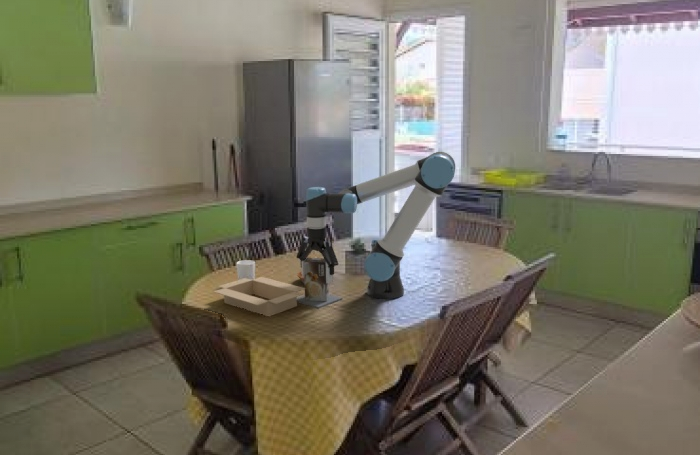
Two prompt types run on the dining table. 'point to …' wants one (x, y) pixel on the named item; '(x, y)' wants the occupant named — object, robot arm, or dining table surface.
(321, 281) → the coffee box
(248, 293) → the carton
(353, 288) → the dining table surface
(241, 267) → the white cup
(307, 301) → the mat
